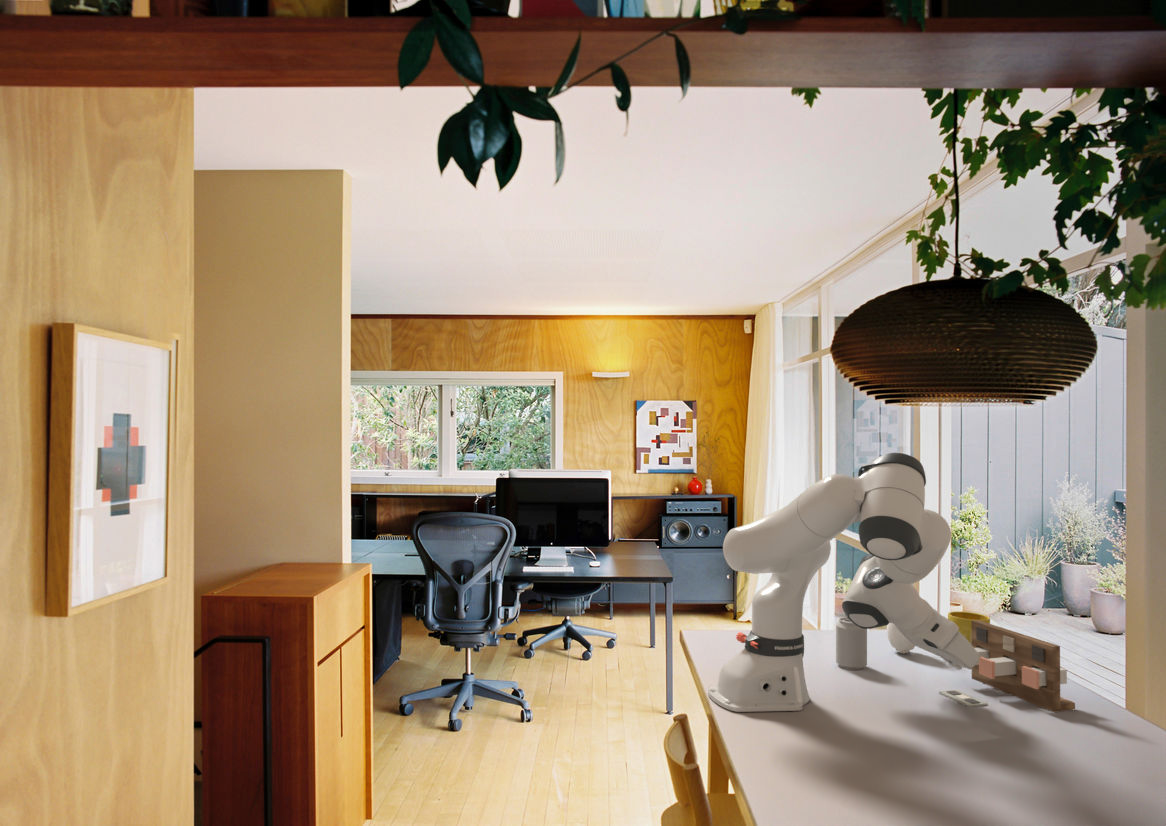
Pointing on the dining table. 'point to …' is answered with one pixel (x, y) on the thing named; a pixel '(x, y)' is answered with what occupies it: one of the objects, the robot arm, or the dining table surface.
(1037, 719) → the dining table surface
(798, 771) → the dining table surface
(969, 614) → the plant pot
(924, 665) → the dining table surface
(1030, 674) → the button near
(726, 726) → the dining table surface
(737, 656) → the robot arm
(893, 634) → the cream tall ovoid
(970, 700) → the card
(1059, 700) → the console
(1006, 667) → the button middle
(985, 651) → the button far
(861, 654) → the can
